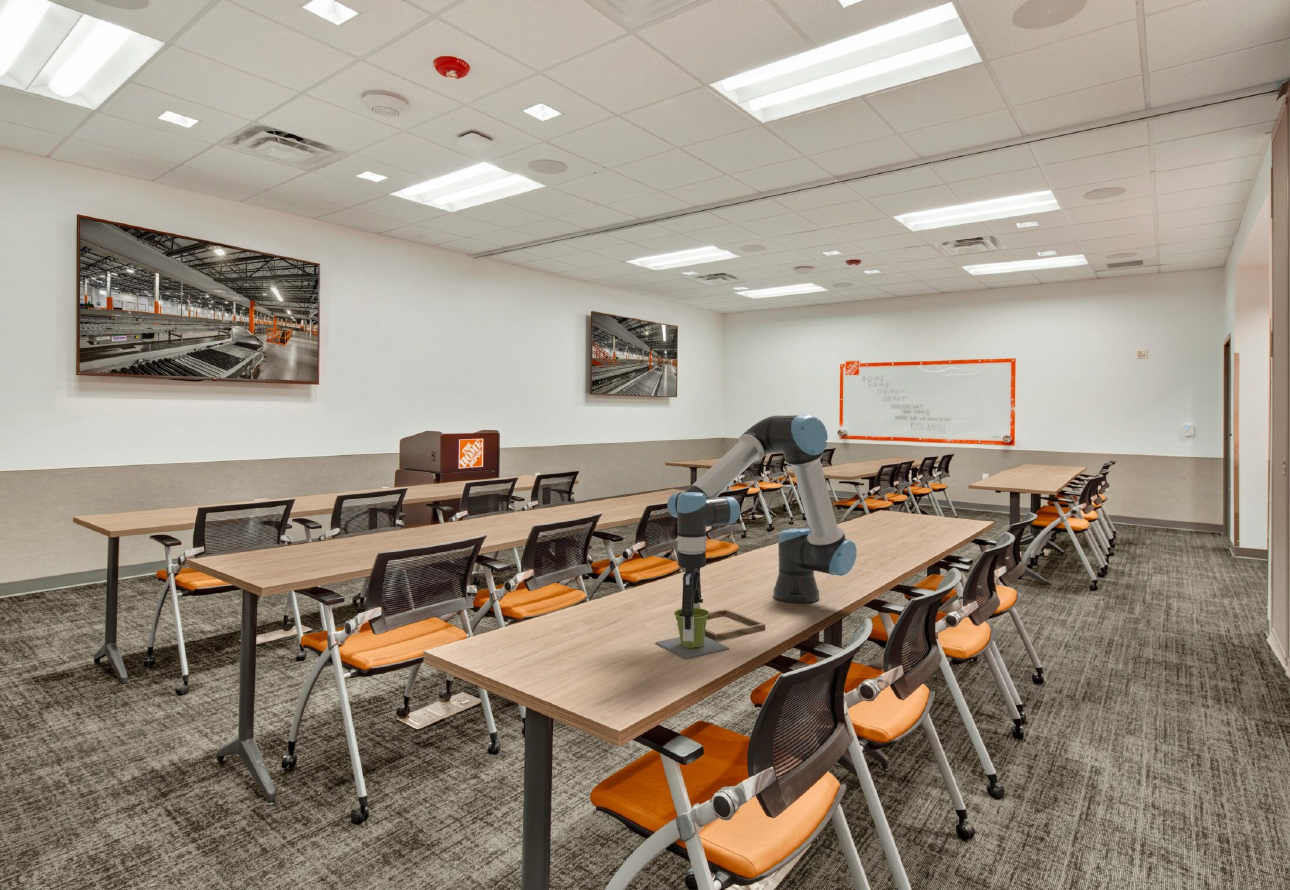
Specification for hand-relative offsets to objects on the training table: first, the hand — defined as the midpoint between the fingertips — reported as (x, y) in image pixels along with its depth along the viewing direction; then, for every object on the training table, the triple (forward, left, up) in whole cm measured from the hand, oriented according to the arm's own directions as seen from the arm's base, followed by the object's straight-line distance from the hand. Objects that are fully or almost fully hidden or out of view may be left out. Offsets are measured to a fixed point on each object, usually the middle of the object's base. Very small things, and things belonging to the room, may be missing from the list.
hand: (691, 633), depth 173 cm
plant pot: (0, 0, -3) cm, 3 cm away
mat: (0, 0, -3) cm, 3 cm away
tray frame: (-17, -9, -3) cm, 20 cm away
